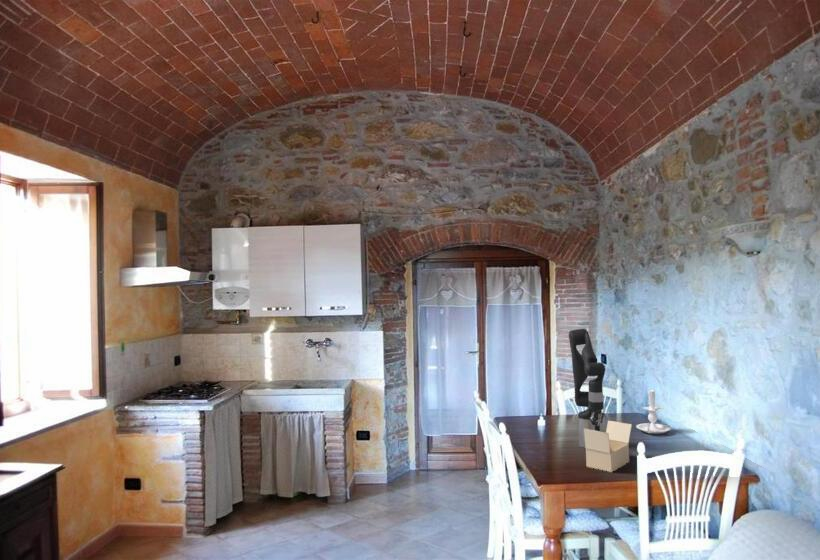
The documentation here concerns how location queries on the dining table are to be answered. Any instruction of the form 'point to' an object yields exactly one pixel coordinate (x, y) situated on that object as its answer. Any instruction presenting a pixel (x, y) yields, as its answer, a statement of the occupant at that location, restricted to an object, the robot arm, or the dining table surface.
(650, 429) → the candlestick
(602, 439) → the front flap
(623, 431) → the back flap
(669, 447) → the dining table surface
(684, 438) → the dining table surface
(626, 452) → the carton
